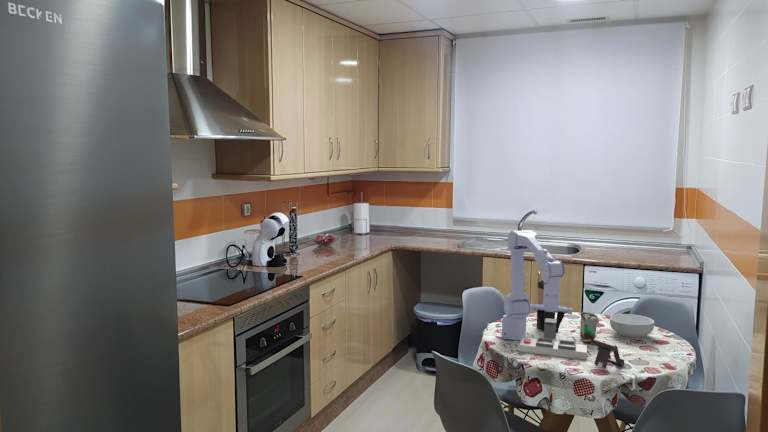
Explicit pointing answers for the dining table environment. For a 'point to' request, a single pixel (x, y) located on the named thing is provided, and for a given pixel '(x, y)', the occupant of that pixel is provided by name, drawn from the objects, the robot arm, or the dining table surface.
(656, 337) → the dining table surface
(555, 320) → the block
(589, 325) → the food container
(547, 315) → the travel mug
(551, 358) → the dining table surface
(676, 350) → the dining table surface
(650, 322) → the cereal bowl
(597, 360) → the portable electronic device stand
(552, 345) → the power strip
